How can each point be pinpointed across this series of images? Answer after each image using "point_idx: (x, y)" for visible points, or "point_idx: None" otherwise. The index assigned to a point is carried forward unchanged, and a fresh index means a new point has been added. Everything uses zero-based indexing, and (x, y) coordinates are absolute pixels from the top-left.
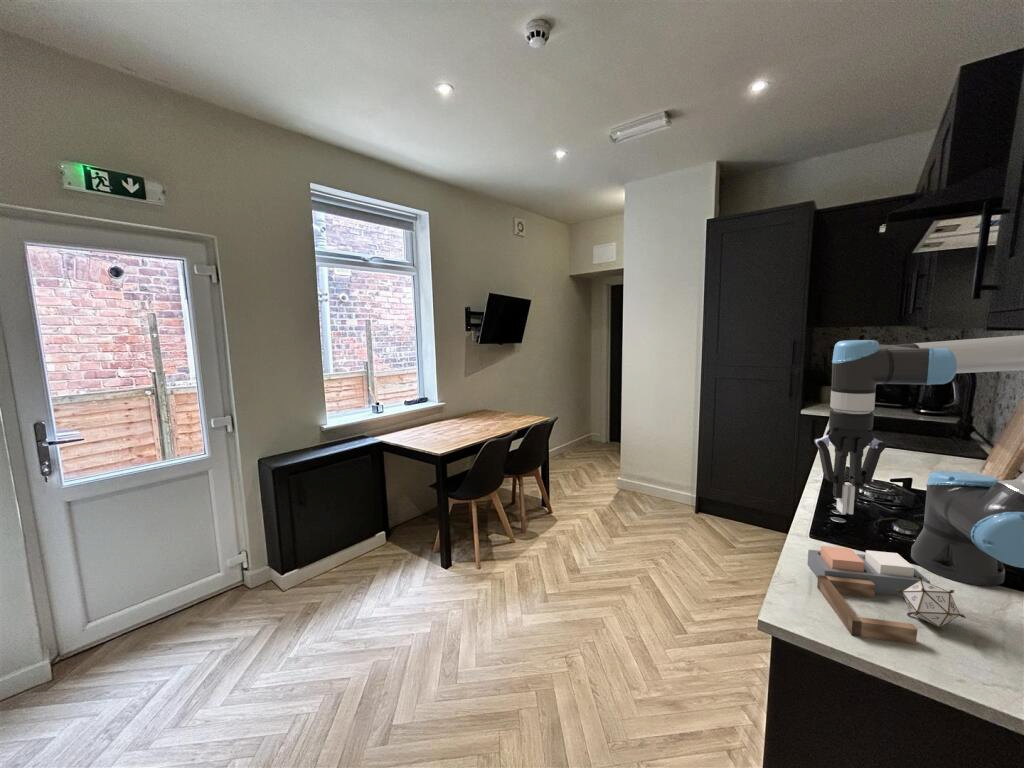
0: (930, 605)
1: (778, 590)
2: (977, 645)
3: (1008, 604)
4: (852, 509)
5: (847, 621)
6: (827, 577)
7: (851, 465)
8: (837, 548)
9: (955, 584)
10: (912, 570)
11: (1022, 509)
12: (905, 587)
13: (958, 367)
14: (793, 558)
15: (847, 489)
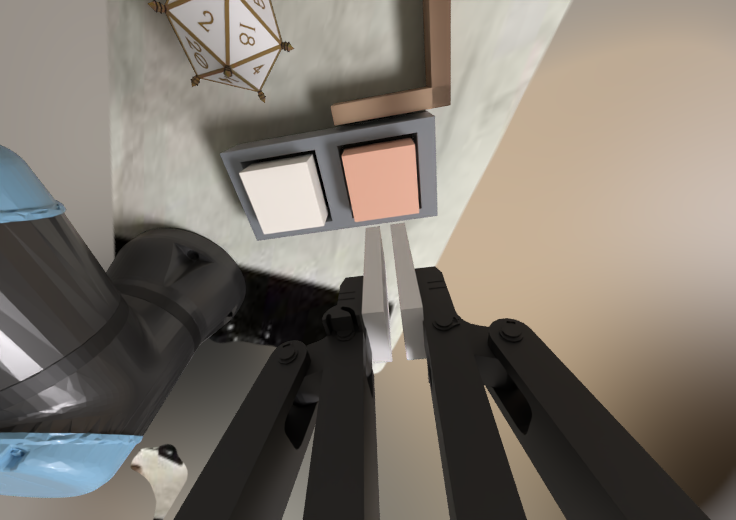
0: None
1: (545, 43)
2: None
3: (121, 178)
4: (369, 237)
5: None
6: (430, 100)
7: (374, 488)
8: (384, 211)
9: (191, 219)
10: (245, 170)
11: None
12: (270, 141)
13: None
14: (450, 217)
15: (400, 296)
